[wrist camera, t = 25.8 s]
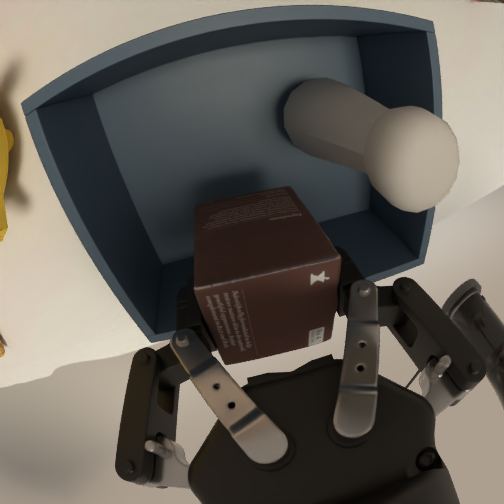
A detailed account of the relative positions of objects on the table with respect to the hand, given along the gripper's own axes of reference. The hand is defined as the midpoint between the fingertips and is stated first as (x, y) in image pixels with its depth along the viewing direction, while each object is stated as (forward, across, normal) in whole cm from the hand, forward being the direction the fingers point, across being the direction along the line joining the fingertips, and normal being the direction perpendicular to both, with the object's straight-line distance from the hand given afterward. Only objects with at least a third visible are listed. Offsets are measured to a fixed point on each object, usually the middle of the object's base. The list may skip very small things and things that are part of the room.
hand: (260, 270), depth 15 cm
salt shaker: (+9, -7, -6) cm, 13 cm away
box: (+4, 0, 0) cm, 4 cm away
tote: (+10, -2, -4) cm, 11 cm away
